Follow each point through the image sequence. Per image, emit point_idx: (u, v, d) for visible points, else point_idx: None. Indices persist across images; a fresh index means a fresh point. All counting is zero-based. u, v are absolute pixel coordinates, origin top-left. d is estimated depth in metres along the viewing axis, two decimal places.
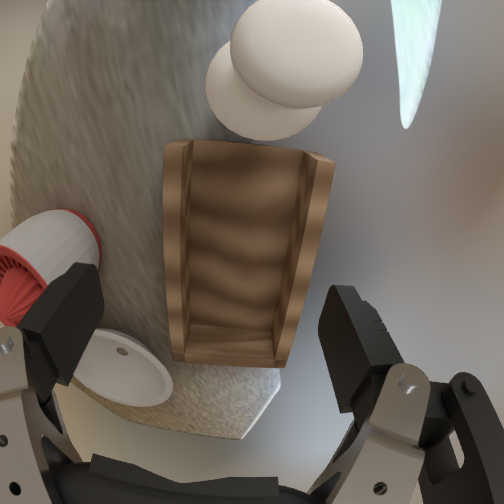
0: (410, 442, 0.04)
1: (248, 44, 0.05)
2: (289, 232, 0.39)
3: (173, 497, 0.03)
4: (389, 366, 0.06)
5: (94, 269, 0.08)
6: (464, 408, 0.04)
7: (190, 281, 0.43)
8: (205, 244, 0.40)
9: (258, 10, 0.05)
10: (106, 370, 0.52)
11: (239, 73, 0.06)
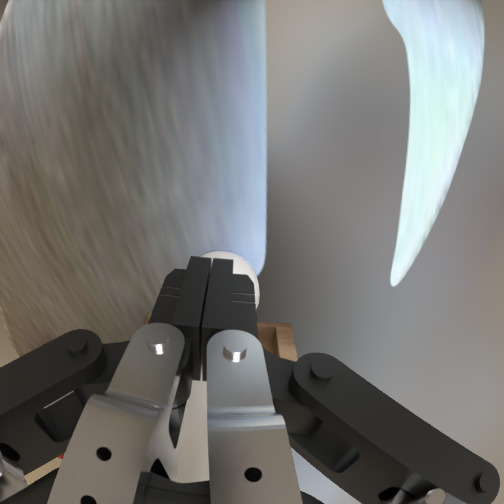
0: (265, 410, 0.04)
1: None
2: None
3: (173, 497, 0.03)
4: (226, 333, 0.06)
5: (211, 263, 0.10)
6: (303, 393, 0.05)
7: None
8: None
9: None
10: None
11: None
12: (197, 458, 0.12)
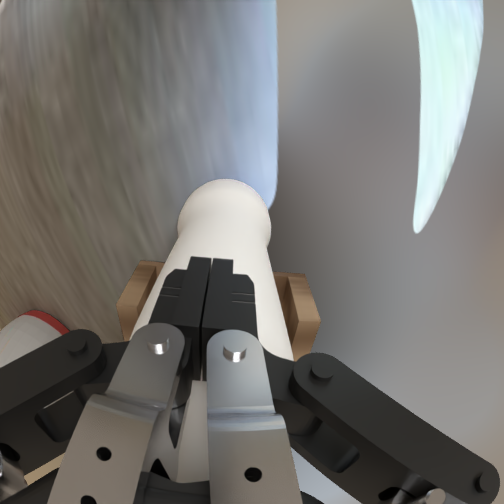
0: (264, 410, 0.04)
1: None
2: None
3: (173, 497, 0.03)
4: (226, 333, 0.06)
5: (211, 263, 0.10)
6: (302, 393, 0.05)
7: None
8: None
9: None
10: None
11: None
12: (187, 423, 0.08)
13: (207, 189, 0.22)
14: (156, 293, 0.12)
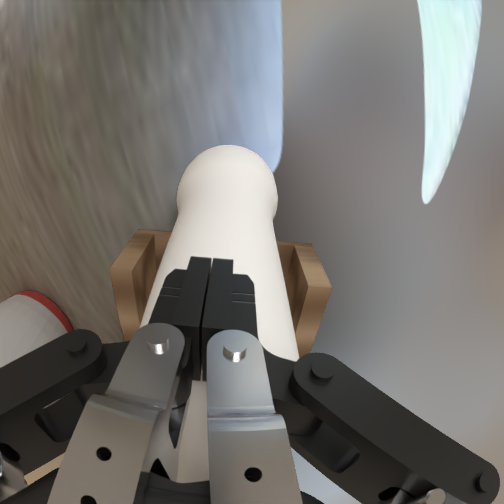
0: (264, 410, 0.04)
1: None
2: None
3: (173, 497, 0.03)
4: (226, 332, 0.07)
5: (211, 263, 0.10)
6: (302, 393, 0.05)
7: None
8: None
9: None
10: None
11: None
12: (199, 448, 0.08)
13: (208, 160, 0.19)
14: None
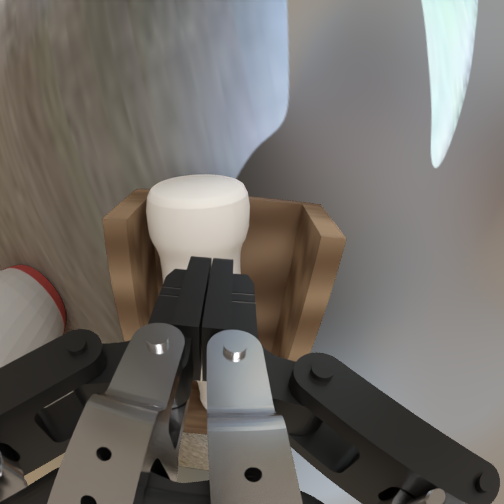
0: (264, 410, 0.04)
1: None
2: (281, 302, 0.31)
3: (173, 497, 0.03)
4: (226, 333, 0.06)
5: (211, 263, 0.10)
6: (302, 393, 0.05)
7: None
8: None
9: None
10: None
11: None
12: None
13: (151, 238, 0.20)
14: None
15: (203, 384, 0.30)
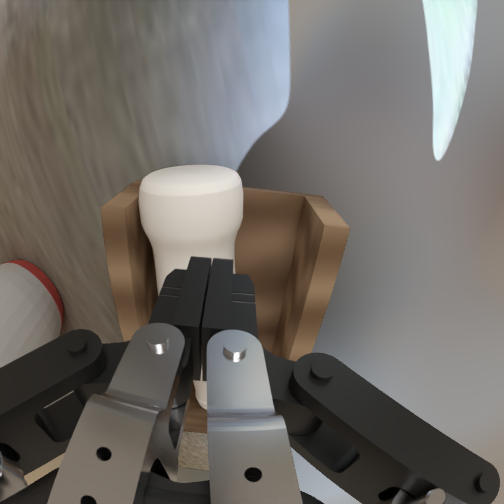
0: (264, 410, 0.04)
1: None
2: (283, 297, 0.31)
3: (173, 497, 0.03)
4: (226, 333, 0.06)
5: (211, 263, 0.10)
6: (302, 393, 0.05)
7: None
8: None
9: None
10: None
11: None
12: None
13: (142, 225, 0.20)
14: None
15: None
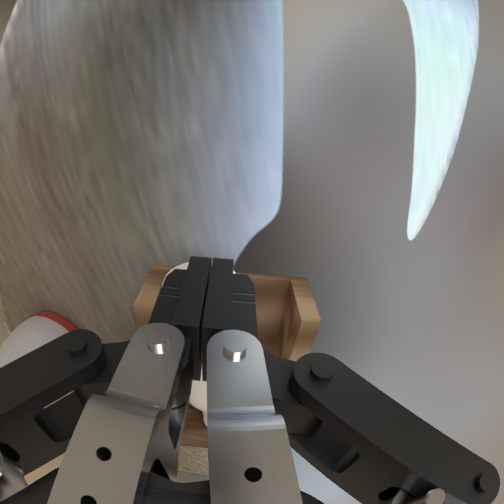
0: (264, 410, 0.04)
1: None
2: (273, 349, 0.37)
3: (173, 497, 0.03)
4: (226, 332, 0.07)
5: (211, 263, 0.10)
6: (303, 393, 0.05)
7: None
8: None
9: None
10: None
11: None
12: None
13: None
14: None
15: None
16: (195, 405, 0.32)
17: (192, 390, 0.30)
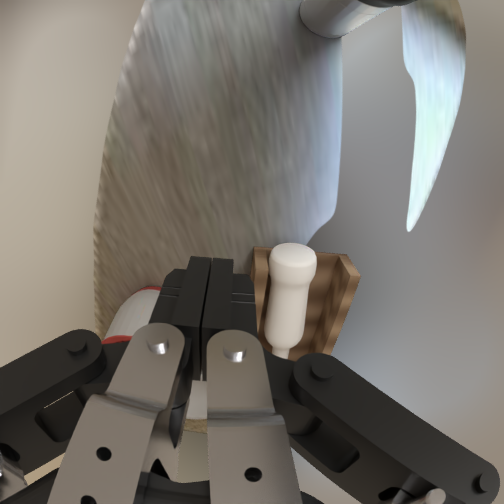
0: (265, 410, 0.04)
1: None
2: (323, 304, 0.57)
3: (173, 497, 0.03)
4: (226, 333, 0.06)
5: (211, 263, 0.10)
6: (302, 393, 0.05)
7: None
8: None
9: None
10: None
11: None
12: (274, 347, 0.55)
13: (272, 275, 0.46)
14: (265, 323, 0.53)
15: (277, 351, 0.56)
16: (276, 343, 0.52)
17: (278, 329, 0.50)
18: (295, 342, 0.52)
